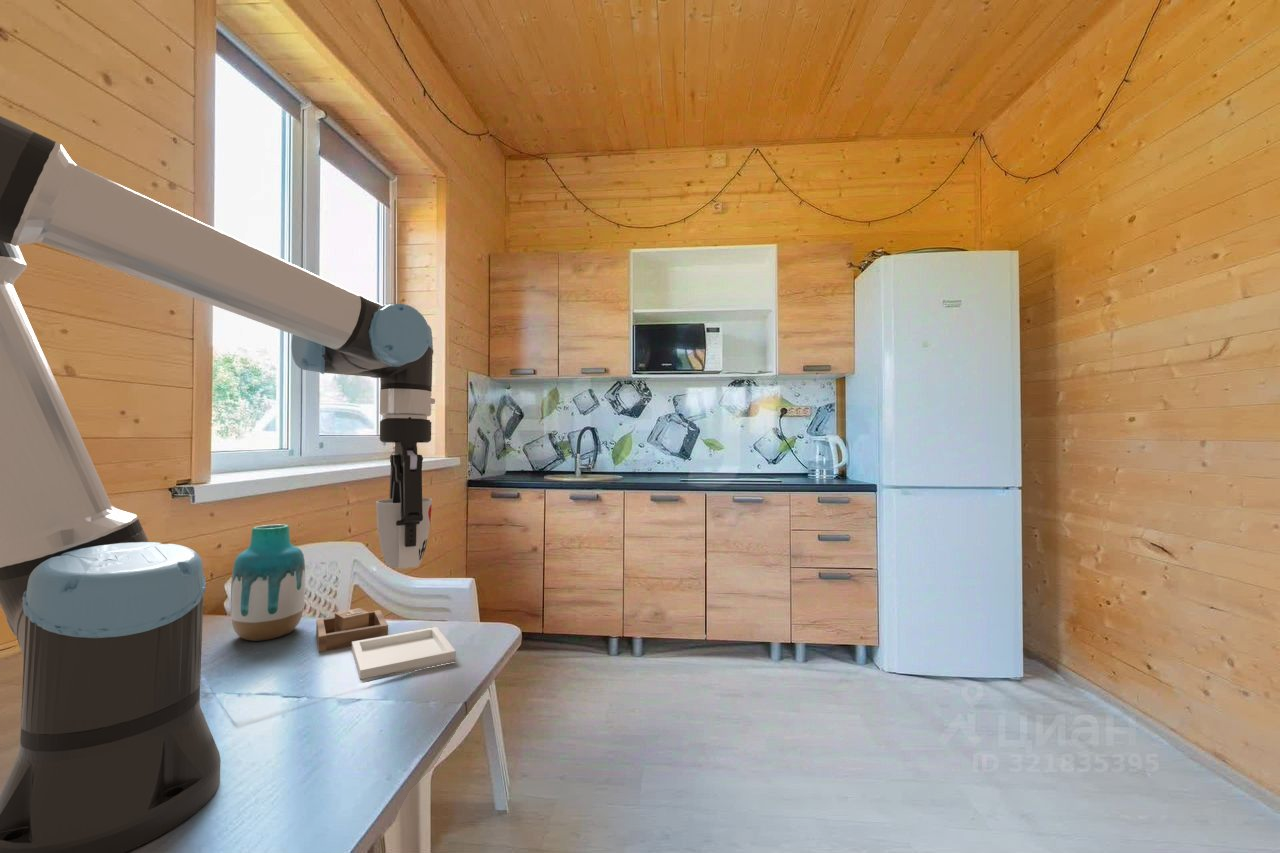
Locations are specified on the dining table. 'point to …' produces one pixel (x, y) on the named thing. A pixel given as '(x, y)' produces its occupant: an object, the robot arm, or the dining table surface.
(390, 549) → the cup
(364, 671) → the tray
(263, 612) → the vase
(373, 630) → the brown wooden tray
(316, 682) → the dining table surface
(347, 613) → the letter cube
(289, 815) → the dining table surface
